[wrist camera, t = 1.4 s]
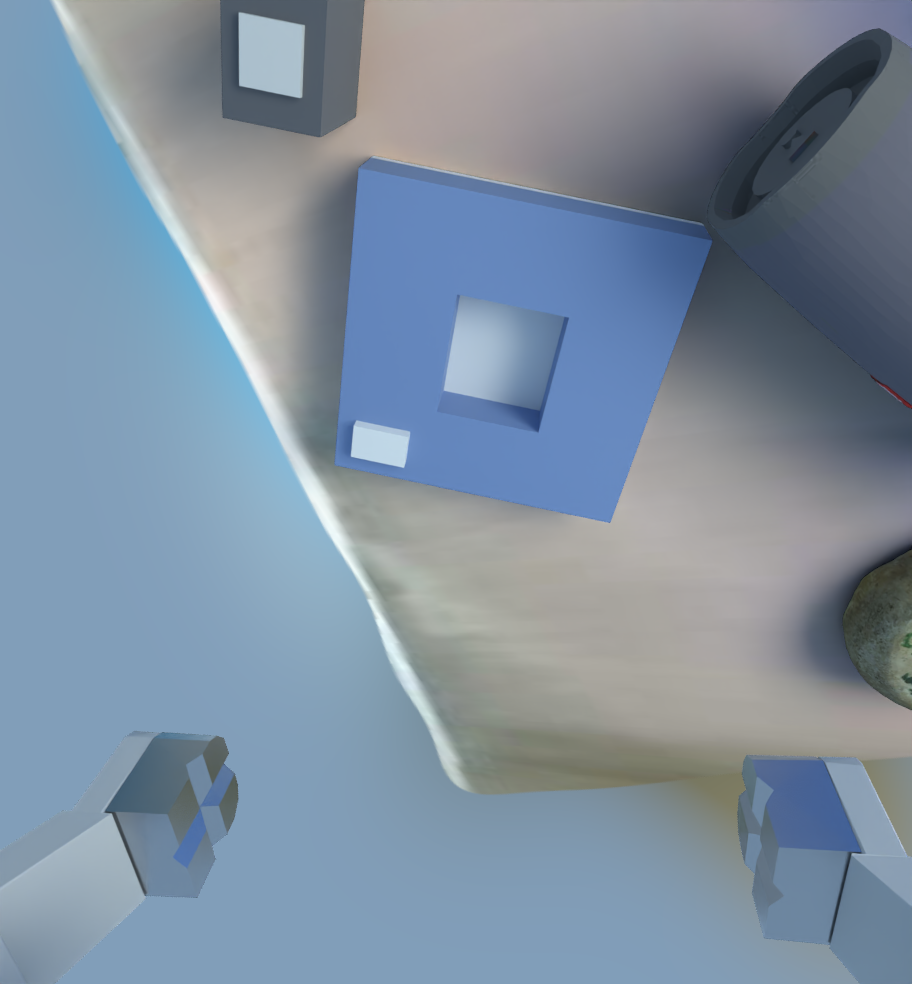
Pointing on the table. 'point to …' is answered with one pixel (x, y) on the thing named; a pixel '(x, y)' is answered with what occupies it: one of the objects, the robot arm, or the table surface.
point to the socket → (507, 335)
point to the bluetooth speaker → (835, 204)
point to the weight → (883, 629)
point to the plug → (291, 62)
